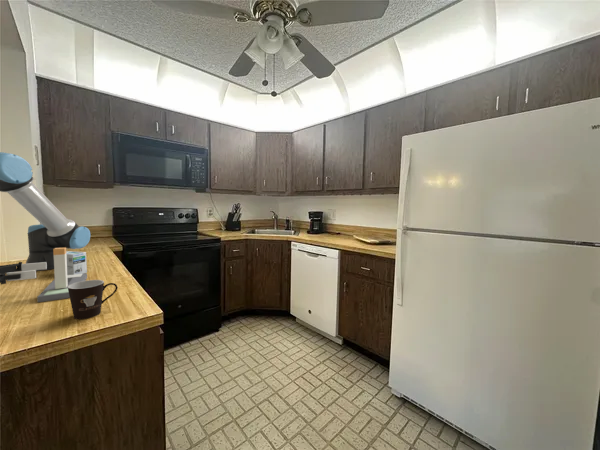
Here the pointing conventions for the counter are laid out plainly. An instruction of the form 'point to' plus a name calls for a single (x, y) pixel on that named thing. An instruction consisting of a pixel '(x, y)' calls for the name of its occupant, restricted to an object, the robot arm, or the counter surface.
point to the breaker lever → (60, 268)
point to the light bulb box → (76, 263)
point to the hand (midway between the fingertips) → (41, 269)
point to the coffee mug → (87, 298)
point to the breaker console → (61, 293)
